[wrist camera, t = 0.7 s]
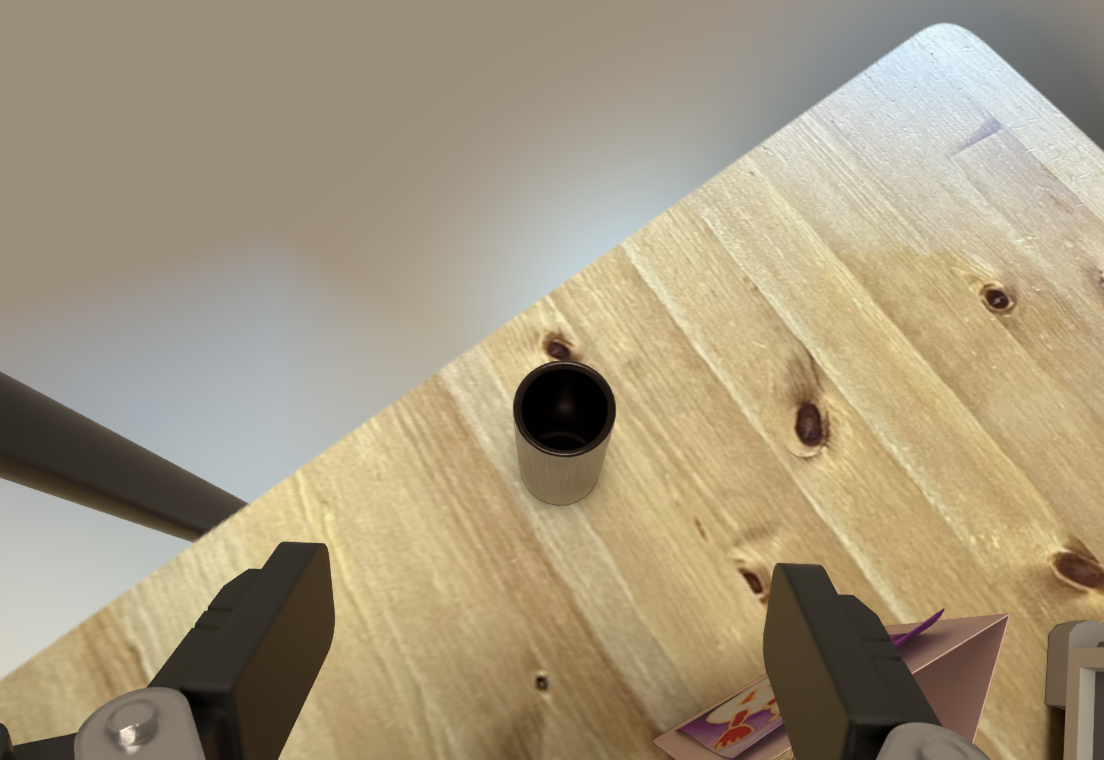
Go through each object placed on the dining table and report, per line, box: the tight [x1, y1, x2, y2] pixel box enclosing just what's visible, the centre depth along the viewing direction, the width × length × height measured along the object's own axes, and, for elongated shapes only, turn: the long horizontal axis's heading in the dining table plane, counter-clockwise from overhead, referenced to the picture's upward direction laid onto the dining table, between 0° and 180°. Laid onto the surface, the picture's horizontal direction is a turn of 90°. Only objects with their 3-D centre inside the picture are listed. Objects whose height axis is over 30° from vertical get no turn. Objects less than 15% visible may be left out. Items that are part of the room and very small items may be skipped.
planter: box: [513, 360, 616, 505], centre depth 36 cm, size 4×4×10 cm
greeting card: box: [652, 609, 1011, 760], centre depth 29 cm, size 11×7×15 cm, turn 117°
